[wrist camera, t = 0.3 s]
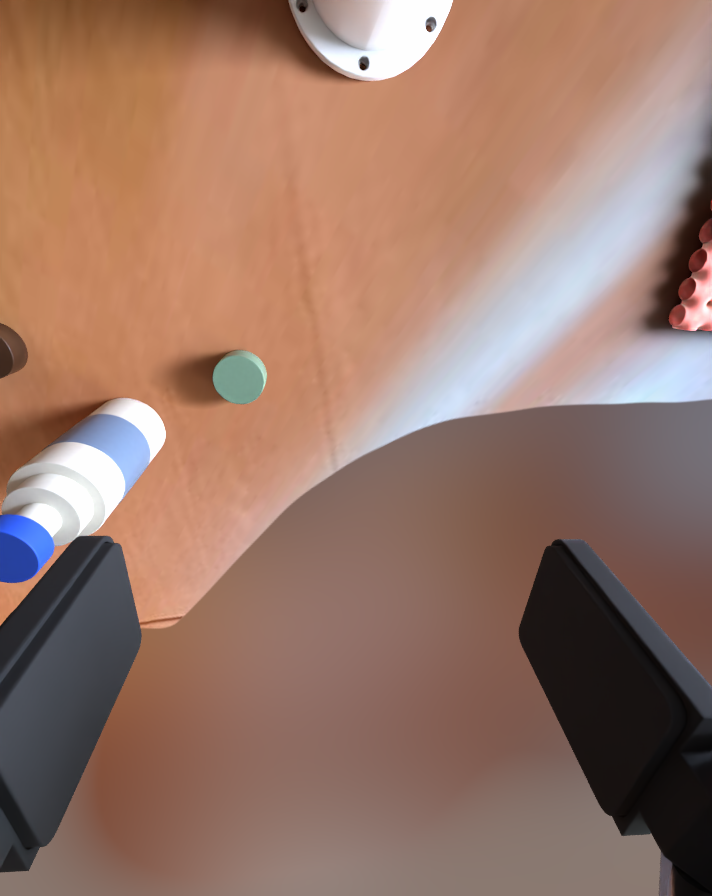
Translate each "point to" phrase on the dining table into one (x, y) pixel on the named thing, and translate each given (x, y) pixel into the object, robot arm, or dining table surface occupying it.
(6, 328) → the brown disc
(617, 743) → the robot arm
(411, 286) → the dining table surface
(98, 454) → the cream bottle
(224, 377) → the sage cylinder
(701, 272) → the pink perforated square mat
